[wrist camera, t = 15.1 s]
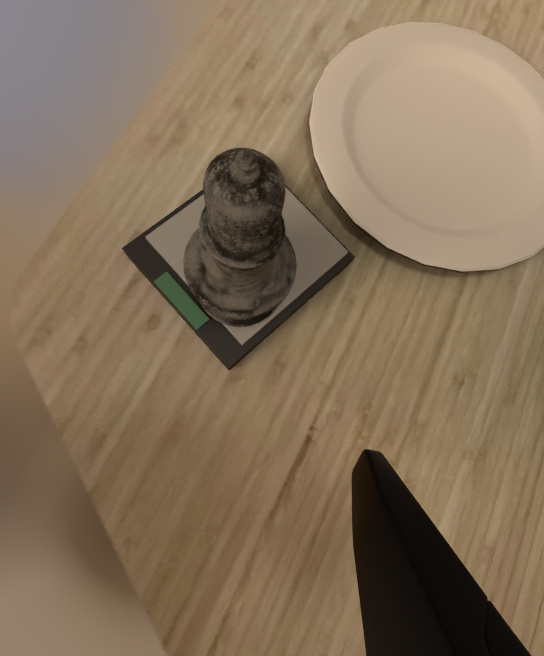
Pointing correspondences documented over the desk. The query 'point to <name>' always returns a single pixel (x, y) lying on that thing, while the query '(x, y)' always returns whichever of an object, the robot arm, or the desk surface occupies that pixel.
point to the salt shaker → (241, 240)
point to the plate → (435, 145)
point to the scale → (168, 278)
